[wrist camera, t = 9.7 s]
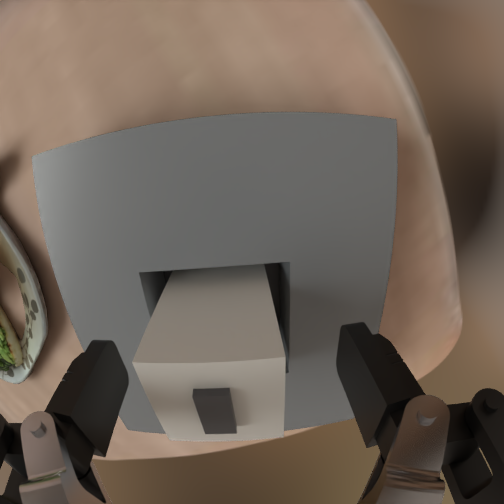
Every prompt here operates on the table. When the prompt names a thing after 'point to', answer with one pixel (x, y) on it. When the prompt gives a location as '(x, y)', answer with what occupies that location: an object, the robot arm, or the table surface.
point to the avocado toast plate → (3, 334)
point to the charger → (215, 356)
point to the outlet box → (228, 233)
